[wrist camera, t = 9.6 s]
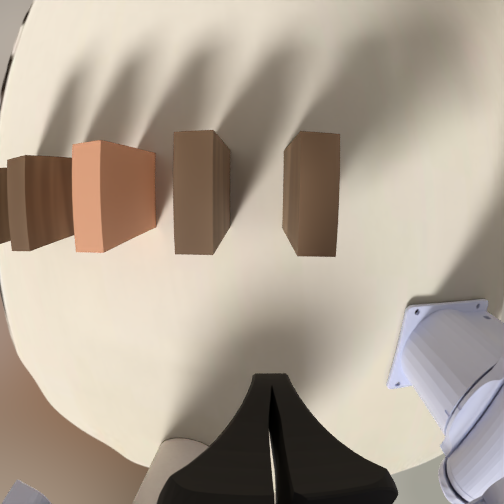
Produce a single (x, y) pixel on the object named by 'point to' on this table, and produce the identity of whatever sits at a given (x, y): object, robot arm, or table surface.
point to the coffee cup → (167, 466)
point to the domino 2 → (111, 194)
